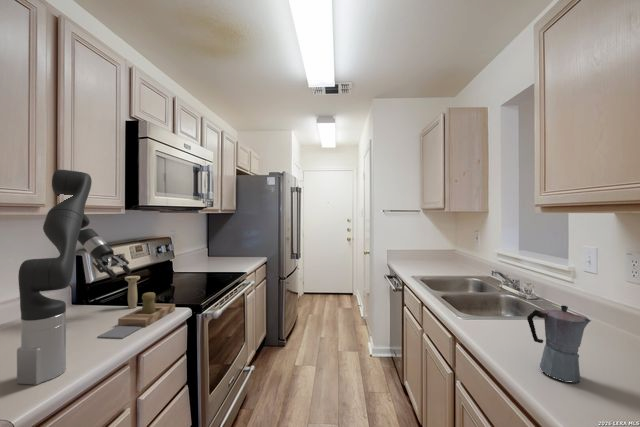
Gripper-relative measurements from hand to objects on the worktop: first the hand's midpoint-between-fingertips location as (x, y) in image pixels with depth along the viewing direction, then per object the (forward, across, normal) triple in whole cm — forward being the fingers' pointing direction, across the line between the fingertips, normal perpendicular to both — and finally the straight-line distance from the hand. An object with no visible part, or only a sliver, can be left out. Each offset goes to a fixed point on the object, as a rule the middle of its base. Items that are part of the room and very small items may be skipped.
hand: (122, 275), depth 128 cm
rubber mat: (+22, -16, +4) cm, 27 cm away
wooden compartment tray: (+22, 0, +4) cm, 22 cm away
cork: (+22, 0, +5) cm, 22 cm away
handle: (+10, +12, +17) cm, 23 cm away
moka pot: (+125, -32, -100) cm, 163 cm away
